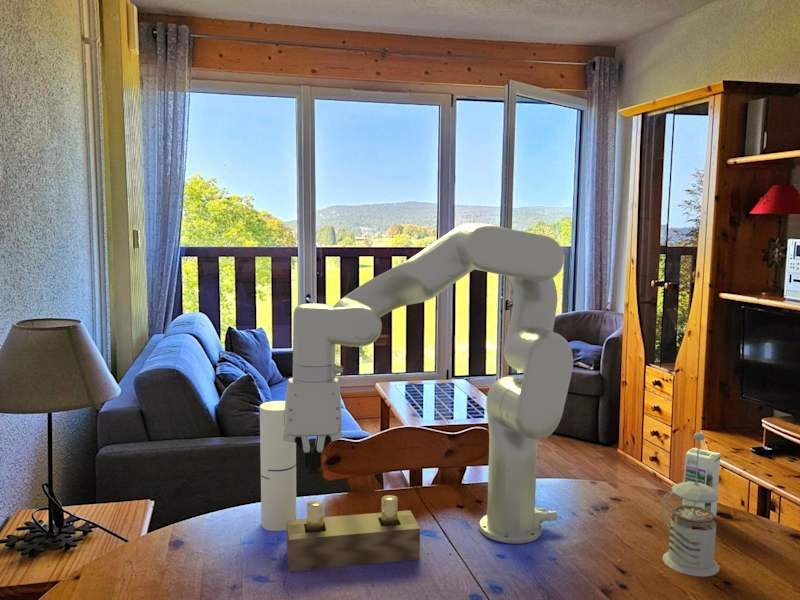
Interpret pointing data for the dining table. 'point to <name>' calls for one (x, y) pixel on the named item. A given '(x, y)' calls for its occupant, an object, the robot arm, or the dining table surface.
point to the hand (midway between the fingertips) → (312, 470)
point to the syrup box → (702, 474)
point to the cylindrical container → (276, 469)
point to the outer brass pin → (314, 516)
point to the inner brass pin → (389, 510)
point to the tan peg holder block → (352, 541)
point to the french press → (692, 554)
